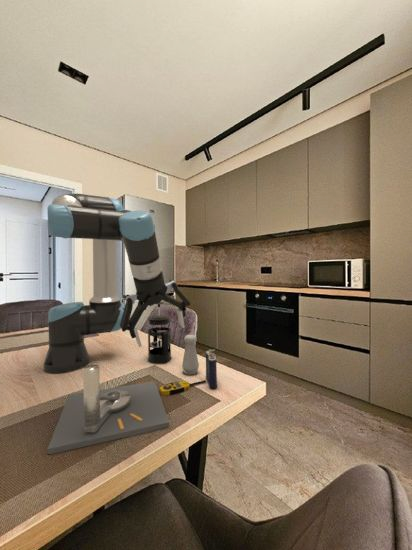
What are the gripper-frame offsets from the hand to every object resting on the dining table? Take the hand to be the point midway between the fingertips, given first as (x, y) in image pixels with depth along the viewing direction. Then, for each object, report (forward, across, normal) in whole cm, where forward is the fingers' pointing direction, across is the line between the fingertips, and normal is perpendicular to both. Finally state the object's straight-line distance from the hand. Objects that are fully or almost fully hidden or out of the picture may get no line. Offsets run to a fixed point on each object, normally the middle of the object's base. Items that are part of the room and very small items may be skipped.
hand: (161, 334), depth 74 cm
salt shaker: (+21, +7, -1) cm, 22 cm away
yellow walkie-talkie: (+16, +1, -10) cm, 18 cm away
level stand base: (+9, -18, -10) cm, 22 cm away
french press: (+26, 0, +14) cm, 30 cm away
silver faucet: (+5, -20, -12) cm, 24 cm away
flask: (+18, +10, -11) cm, 23 cm away
